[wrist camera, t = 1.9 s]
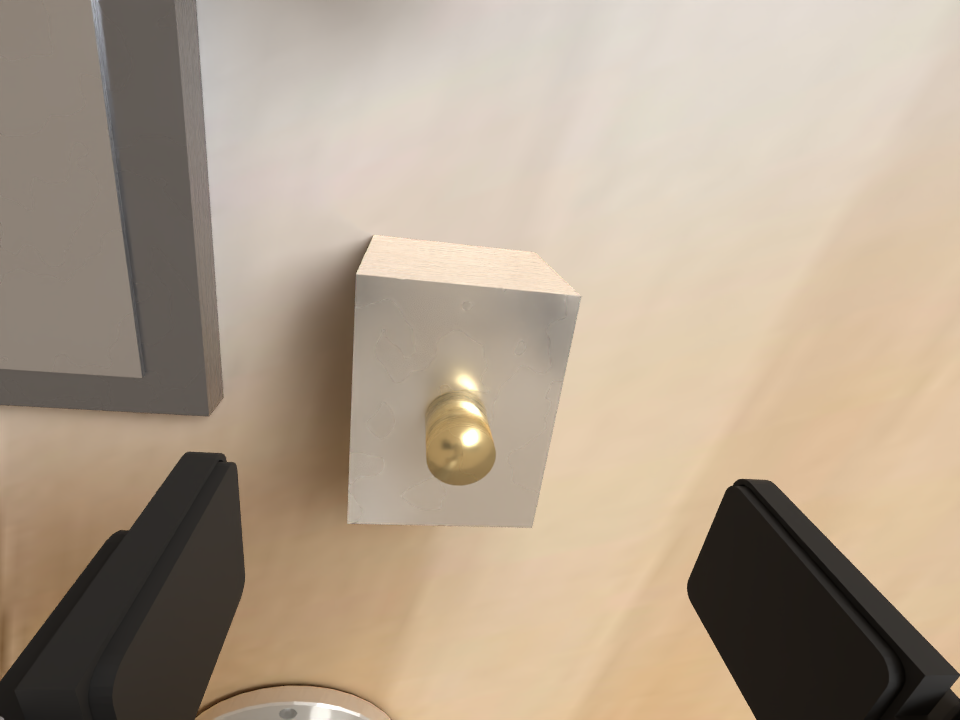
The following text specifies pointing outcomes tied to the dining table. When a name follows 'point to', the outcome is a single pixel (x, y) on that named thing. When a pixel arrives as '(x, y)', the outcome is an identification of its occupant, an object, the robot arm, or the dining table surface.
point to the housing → (454, 382)
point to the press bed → (105, 209)
